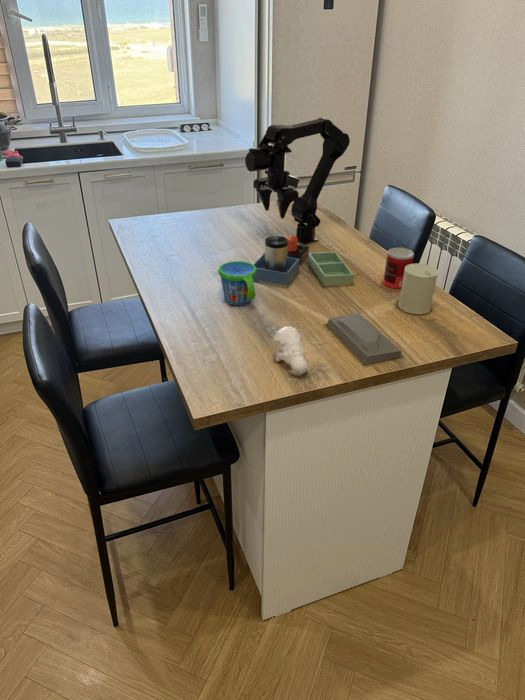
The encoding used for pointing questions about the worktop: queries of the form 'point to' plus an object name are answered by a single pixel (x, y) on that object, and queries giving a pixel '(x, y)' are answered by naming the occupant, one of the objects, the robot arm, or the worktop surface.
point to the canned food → (396, 267)
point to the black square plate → (299, 253)
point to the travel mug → (276, 253)
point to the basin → (276, 276)
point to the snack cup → (238, 282)
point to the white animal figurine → (291, 349)
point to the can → (417, 288)
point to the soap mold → (363, 339)
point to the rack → (330, 268)
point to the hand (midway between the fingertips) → (274, 214)
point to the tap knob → (292, 243)
